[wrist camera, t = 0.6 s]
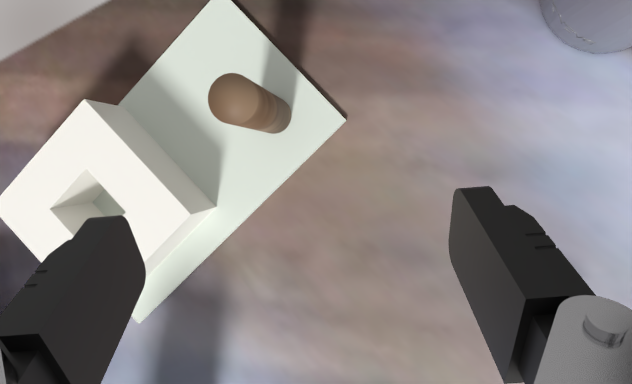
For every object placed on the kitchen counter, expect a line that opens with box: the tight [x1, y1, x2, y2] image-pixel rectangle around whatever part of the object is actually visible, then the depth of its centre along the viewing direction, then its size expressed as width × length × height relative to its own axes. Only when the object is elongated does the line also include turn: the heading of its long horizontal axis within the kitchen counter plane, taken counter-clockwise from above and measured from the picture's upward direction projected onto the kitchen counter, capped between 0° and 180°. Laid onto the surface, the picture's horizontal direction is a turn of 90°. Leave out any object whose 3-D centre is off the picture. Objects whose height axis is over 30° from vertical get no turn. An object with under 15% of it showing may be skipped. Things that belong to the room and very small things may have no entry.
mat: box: [92, 0, 347, 324], centre depth 37 cm, size 26×15×1 cm, turn 134°
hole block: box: [0, 99, 216, 278], centre depth 35 cm, size 12×12×5 cm
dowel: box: [208, 73, 291, 134], centre depth 30 cm, size 3×3×10 cm
